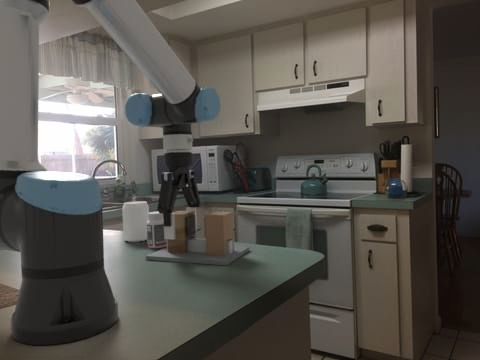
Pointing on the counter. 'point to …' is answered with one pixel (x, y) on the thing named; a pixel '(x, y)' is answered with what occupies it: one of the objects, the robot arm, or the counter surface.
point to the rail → (208, 244)
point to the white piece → (135, 221)
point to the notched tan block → (182, 231)
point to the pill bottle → (155, 230)
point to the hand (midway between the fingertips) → (181, 234)
